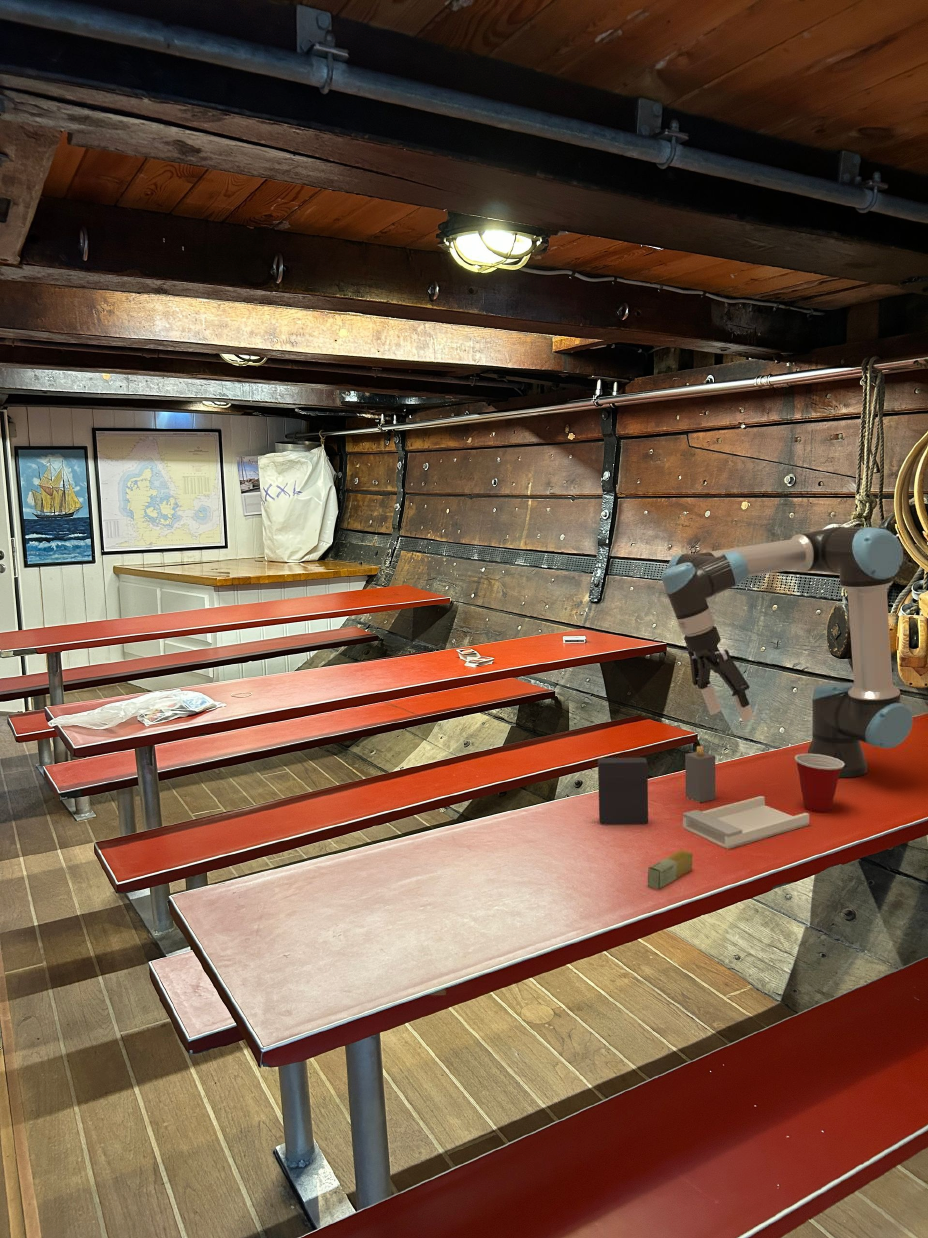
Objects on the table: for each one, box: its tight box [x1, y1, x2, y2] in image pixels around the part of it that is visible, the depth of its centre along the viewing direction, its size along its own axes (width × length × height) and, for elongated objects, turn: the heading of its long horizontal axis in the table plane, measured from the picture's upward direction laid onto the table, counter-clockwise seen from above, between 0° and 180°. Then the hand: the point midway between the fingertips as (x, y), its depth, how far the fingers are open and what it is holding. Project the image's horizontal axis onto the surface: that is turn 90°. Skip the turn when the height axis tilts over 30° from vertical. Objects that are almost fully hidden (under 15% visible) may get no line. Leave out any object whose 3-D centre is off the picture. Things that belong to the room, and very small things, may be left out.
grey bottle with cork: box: [684, 745, 716, 804], centre depth 210 cm, size 5×5×13 cm
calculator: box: [597, 757, 649, 825], centre depth 197 cm, size 11×4×15 cm, turn 84°
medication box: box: [647, 849, 694, 890], centre depth 168 cm, size 12×3×4 cm, turn 133°
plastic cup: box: [794, 753, 845, 813], centre depth 200 cm, size 11×11×12 cm
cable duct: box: [682, 795, 810, 850], centre depth 192 cm, size 24×14×3 cm, turn 117°
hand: (731, 716), depth 195 cm, fingers open, 13 cm apart
